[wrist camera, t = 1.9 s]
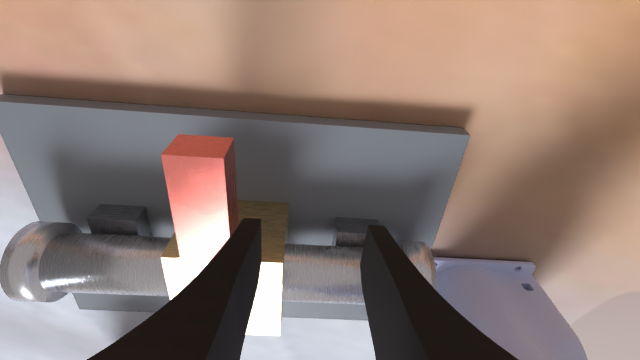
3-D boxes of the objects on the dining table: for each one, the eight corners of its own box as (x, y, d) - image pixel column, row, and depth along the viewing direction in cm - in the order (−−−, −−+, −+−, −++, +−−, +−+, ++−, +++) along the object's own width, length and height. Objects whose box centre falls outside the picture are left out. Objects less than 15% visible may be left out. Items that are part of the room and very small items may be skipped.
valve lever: (247, 322, 20) (242, 352, 18) (203, 321, 19) (193, 350, 18) (239, 138, 13) (229, 159, 12) (173, 133, 13) (155, 154, 12)
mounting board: (462, 127, 21) (470, 135, 20) (403, 310, 31) (406, 321, 30) (2, 94, 20) (-15, 100, 19) (87, 297, 29) (79, 309, 28)
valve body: (420, 210, 23) (450, 276, 18) (401, 275, 26) (422, 346, 21) (51, 189, 22) (-29, 254, 17) (80, 260, 25) (20, 332, 20)
